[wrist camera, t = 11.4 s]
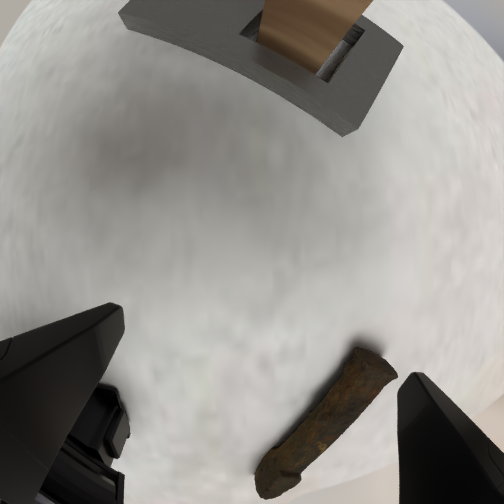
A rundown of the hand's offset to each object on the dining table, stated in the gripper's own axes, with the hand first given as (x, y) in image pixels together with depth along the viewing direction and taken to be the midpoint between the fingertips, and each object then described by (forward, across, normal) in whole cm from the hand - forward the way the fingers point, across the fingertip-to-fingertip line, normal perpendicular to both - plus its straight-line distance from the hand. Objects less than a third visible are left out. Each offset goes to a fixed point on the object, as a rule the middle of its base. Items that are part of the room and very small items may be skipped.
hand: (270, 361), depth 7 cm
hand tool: (+9, -7, +16) cm, 20 cm away
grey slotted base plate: (+14, +5, -14) cm, 20 cm away
